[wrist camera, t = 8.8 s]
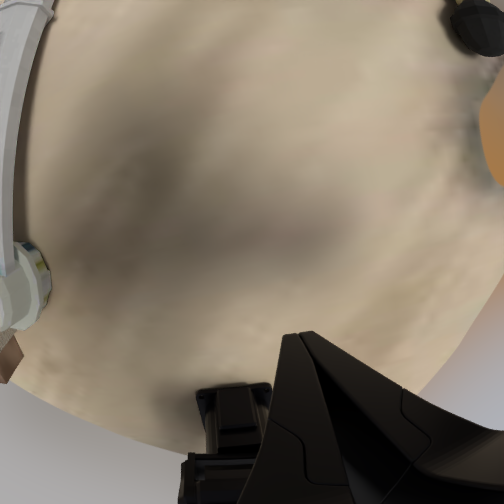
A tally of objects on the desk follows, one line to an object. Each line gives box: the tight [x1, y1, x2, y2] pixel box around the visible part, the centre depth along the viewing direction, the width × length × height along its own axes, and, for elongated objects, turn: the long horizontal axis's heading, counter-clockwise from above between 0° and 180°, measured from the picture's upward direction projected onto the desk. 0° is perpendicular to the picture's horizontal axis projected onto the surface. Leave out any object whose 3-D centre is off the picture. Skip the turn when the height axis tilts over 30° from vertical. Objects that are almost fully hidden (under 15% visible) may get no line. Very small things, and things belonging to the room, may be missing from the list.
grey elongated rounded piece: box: [0, 0, 54, 331], centre depth 13 cm, size 5×7×25 cm
